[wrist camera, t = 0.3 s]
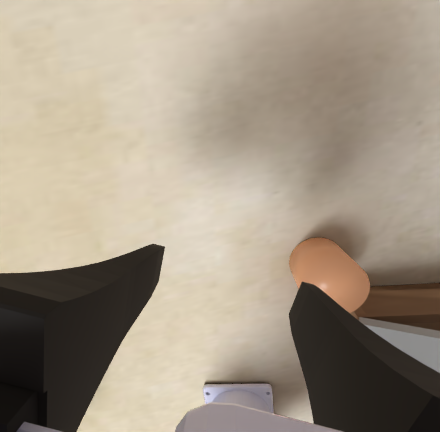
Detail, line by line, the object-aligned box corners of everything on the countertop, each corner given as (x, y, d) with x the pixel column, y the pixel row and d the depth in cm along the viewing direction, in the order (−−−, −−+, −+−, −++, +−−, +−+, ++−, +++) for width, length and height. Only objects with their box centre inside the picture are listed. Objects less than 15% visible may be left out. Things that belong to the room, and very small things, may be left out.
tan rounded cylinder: (342, 283, 22) (367, 315, 18) (289, 285, 23) (302, 318, 18) (344, 235, 21) (372, 257, 16) (288, 239, 21) (301, 262, 17)
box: (451, 379, 24) (491, 422, 20) (334, 380, 26) (351, 421, 22) (473, 281, 21) (525, 310, 17) (337, 288, 22) (357, 317, 18)
